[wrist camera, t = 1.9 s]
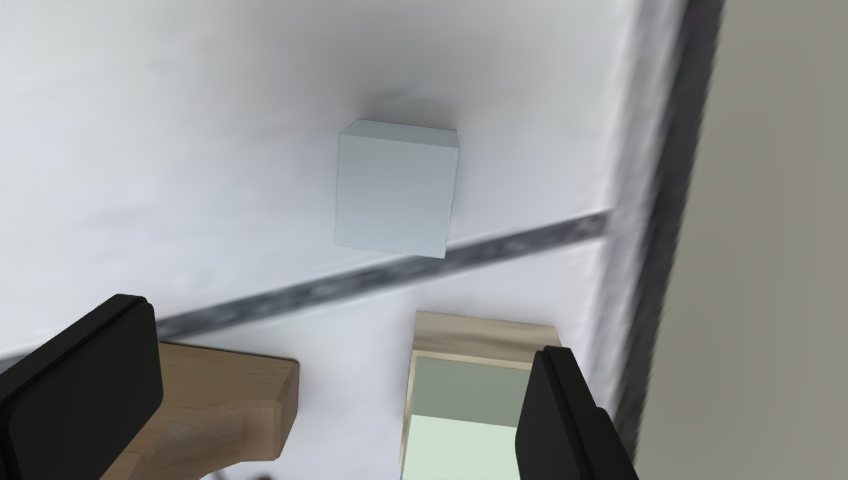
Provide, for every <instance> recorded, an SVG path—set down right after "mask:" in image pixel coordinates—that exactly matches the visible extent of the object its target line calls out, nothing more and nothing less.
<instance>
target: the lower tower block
mask: <svg viewBox="0 0 848 480" xmlns="http://www.w3.org/2000/svg"><path fill="white" fill-rule="evenodd" d="M546 345H550V346H558V347H562V345H561V343H560V340H559V338H558V335H557V333H556V330H555V328H554V327H551V326H543V325H534V324H525V323H517V322H508V321H499V320H491V319H482V318H474V317H465V316H456V315H448V314H439V313H431V312H422V311H417V312H416V320H415V329H414V337H413V345H412V354H411V362H410V370H409V379H408V387H407V395H406V404H405V412H404V420H403V430H402V439H401V448H400V457H399V466H398V467H402V459H403V452H404V445H405V437H406V430H407V423H408V416H409V409H410V402H411V395H412V388H413V381H414V374H415V367H416V359H417V356H418V357H425V358H433V359H441V360H449V361H457V362H465V363H473V364H481V365H488V366H496V367H504V368H512V369H520V370H528V371H531V368H532V364H533V360H534V356H535V353H536V351H537V350H541V351H543V349H544V347H545V346H546Z"/></svg>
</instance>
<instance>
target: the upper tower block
mask: <svg viewBox="0 0 848 480" xmlns="http://www.w3.org/2000/svg"><path fill="white" fill-rule="evenodd" d="M530 373H531V371H528V370H520V369H512V368H504V367H496V366H488V365H481V364H473V363H465V362H457V361H449V360H441V359H433V358H425V357H418V356H417V359H416V367H415V374H414V381H413V388H412V395H411V402H410V409H409V416H408V423H407V430H406V437H405V445H404V452H403V459H402V467H401V477H400V480H520V475H519V470H518V464H517V459H516V453H515V435H516V431H517V427H518V422H519V418H520V414H521V410H522V406H523V402H524V398H525V393H526V389H527V385H528V381H529V377H530Z"/></svg>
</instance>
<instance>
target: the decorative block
mask: <svg viewBox="0 0 848 480" xmlns="http://www.w3.org/2000/svg"><path fill="white" fill-rule="evenodd" d="M158 348H159V357H160V365H161V374H162V382H163V391H164V395H163V400H162V403H161V405H160V407H159V408H158V410H157V411H156V412H155V413H154V415H153V416H152V417H151V418H150V419H149V421H148V422H147V423H146V424H145V425H144V427H143V428H142V429H141V430H140V431H139V433H138V434H137V435H136V436H135V437H134V439H133V440H132V441H131V442H130V443H129V445H128V446H127V447H126V448H125V449H124V451H123V452H122V453H121V454H120V455H119V457H118V458H117V459H116V460H115V461H114V463H113V464H112V465H111V466H110V467H109V469H108V470H107V471H106V472H105V473H104V475H103V476H102V477H101V478H100V479H99V480H199V479H201V478H202V477H204V476H205V475H207V474H209V473H211V472H214V471H217V470H220V469H222V468H225V467H228V466H231V465H234V464H237V463H239V462H247V461H274V460H275V459H277V458H279V457H280V455H281V452H282V450H283V447H284V445H285V442H286V440H287V438H288V435H289V433H290V430H291V428H292V425H293V423H294V420H295V418H296V415H297V399H298V376H299V366H298V365H297V364H296V363H295V362H293V361H286V360H279V359H272V358H265V357H258V356H251V355H244V354H237V353H230V352H223V351H216V350H208V349H201V348H194V347H186V346H179V345H172V344H164V343H158Z"/></svg>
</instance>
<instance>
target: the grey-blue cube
mask: <svg viewBox="0 0 848 480" xmlns="http://www.w3.org/2000/svg"><path fill="white" fill-rule="evenodd" d="M459 150H460V147H459V142H458V137H457V132H456V131H454V130H446V129H438V128H429V127H421V126H413V125H404V124H396V123H387V122H379V121H371V120H362V119H359V120H357V121H356V122H355V123H353V124H352V125H351V126H349V127H348V128H347V129H345V130H344V131H343V132H341V133H340V134H339V146H338V171H337V196H336V221H335V245H334V246H342V247H351V248H359V249H368V250H376V251H385V252H393V253H402V254H411V255H419V256H428V257H436V258H444V257H445V250H446V243H447V235H448V228H449V221H450V214H451V207H452V200H453V193H454V186H455V179H456V171H457V164H458V157H459Z"/></svg>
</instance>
